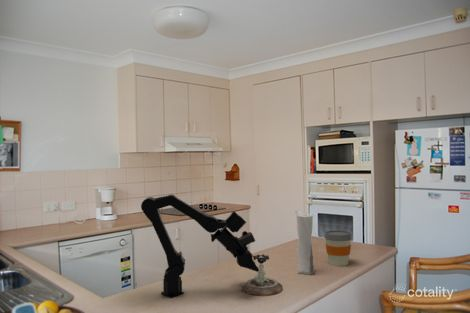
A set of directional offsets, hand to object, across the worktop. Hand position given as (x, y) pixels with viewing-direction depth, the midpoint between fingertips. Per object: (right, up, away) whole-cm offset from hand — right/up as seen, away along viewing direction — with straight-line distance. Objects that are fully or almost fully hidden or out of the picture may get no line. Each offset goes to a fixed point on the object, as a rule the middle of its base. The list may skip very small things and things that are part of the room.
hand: (256, 267), depth 152 cm
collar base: (+2, -8, 0) cm, 9 cm away
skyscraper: (+24, -8, +21) cm, 33 cm away
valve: (+2, -8, 0) cm, 8 cm away
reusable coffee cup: (+42, -8, +34) cm, 55 cm away
